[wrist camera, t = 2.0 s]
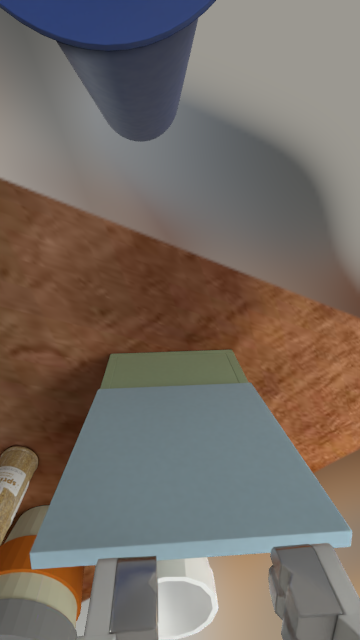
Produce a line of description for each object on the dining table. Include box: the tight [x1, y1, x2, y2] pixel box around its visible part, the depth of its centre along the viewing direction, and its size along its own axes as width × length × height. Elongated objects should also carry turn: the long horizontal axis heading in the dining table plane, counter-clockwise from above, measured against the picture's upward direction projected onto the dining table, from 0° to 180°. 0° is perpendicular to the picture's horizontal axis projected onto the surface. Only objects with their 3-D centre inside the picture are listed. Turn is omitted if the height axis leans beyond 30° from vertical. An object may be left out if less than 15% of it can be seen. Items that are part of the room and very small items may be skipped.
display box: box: [100, 350, 248, 389], centre depth 38 cm, size 16×14×8 cm
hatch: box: [29, 383, 352, 569], centre depth 23 cm, size 17×14×1 cm
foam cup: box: [157, 557, 218, 640], centre depth 40 cm, size 10×9×13 cm
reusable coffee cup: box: [0, 505, 84, 640], centre depth 39 cm, size 13×13×15 cm
